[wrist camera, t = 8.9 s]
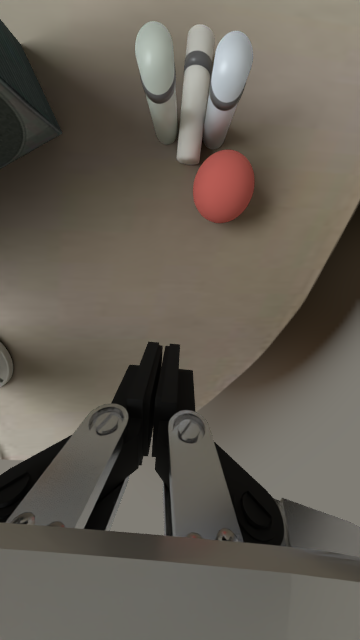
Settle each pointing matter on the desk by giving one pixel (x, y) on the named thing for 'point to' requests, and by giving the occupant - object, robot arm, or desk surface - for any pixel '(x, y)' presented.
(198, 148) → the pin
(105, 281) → the desk surface
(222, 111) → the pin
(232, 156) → the ball
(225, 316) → the desk surface
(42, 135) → the cassette player
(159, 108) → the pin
